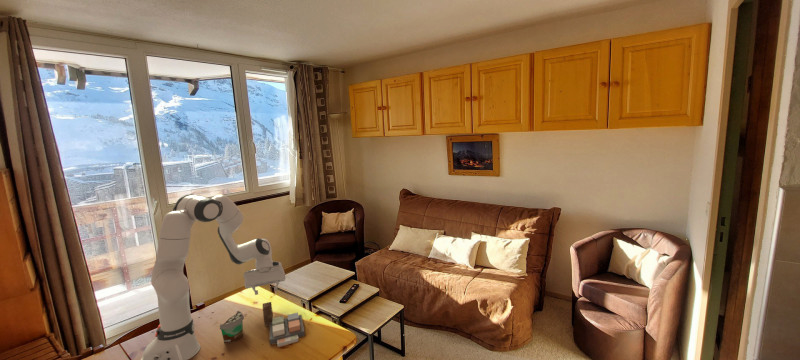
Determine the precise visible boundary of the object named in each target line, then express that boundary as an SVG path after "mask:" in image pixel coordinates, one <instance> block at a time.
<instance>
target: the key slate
mask: <svg viewBox="0 0 800 360" xmlns="http://www.w3.org/2000/svg"><path fill="white" fill-rule="evenodd" d="M299 315H300V314H299V312H294V313H290V314H287V318H288V322H291V321H295V320H299Z"/></svg>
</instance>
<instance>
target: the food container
mask: <svg viewBox="0 0 800 360" xmlns="http://www.w3.org/2000/svg"><path fill="white" fill-rule="evenodd" d="M244 317H245V316H244V314H243V313H242V312H241V311H240V310H237V311H236V313H235V314H234V315H233V316H231V317H229V318H228V319H227V320H226V321H225V322H224V323H223V324H221V323H220V324H219V330H221V331H220V332H221V335H222V339H223V343H224V344H231V343H234V342H236V341H239V340H240V339H241V338H242V337H243V336H244V330H243V329H244V327H243V325H244V324H243V321H244Z"/></svg>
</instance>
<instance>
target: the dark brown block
mask: <svg viewBox="0 0 800 360" xmlns="http://www.w3.org/2000/svg"><path fill="white" fill-rule="evenodd" d="M262 314H263V316H262V317H263V323H264V327H267V326H270V322H272V318H274V315H273V306H272V301H269V302H265V303H262Z"/></svg>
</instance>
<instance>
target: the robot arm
mask: <svg viewBox="0 0 800 360" xmlns="http://www.w3.org/2000/svg"><path fill="white" fill-rule="evenodd" d="M174 205H175V206H174V207H173V208H172V211H169V212H167V213H166V214H165V215H164V216H163V218H162V223H161V226H160V230H159V235H158V243H157V251H156V252H157V253H156V258H155V261H154V265H153V269H152V274H151V277H150V279H151V280H150V283H151V285H152V287H153V289H154V291H155V293H156V296H157V306H158V307H157V309H158V311H157V314H158V319H159V325H158V326H157V327H156V331H155V334H154V335H155V336H154V337H155V338H154V339H152V340H151V341H150V343H148V344H147V346H146V347H145V349H144V350H143V355H142V357H141V358H140V360H190V359H191V358H193V357H194V356H196V354H197V353H198V352H199V351H200V349H201V345H200V343H199V341H198V339H197V337H196V334H195V323H194V319H193V318H192V313H191V307H190V306H191V305H190V284H189V279H188V277H187V276H186V275H185V274H184V267H185V263H186V260H187V259H188V256H189V254H190V253H189V251H190V242H191V235H192V234H191V231H192V227H193V224H194V223H195V222H201V223H210V222H213V221H216V222H217V224H218V226H217V234H218V236H219V238H220V241H221V242H222V244H223V246H224V247H225V249H226V251H227V253H228V255H229V258H230V260H231V262H232V263H234V264H236V265H239V266H241V265H243V264H245V263H247V262H248V261H251V260H254V259H255V262H254V263H255V265H254V266H255V269H251V270H246V271H245V272H243V279H244V282H243V283H244V287H245V289H252V290H253V292H254V295H255V296H256V295H259V291H258V290H256V288H257V287H262V286H266V285H272V284H276V285H275V286H273V288H274V291H275V292H276V291H278V287H279V285H280V282H285V281H286V273H285V270H284V267H283V266H282V265H283V264H282V262H281V261H275V260H273V257H272V255H273V252H272V251H273V250H272V246H271V243H270V240H268V239H266V238H255V239H252V240H249V241H247V242H244V243H241V244H237V243H236V242H235V239H234V237H233V236H232V234H234V233H235V232H236V231H238V229H239V228H240V227H242V224H243V222H244V214H243V213H242V211H241V209H240V208H239V207H238V206H237V204H236V203H235V202H234V201H232V199H231V198H229V197H228V196H227V195H225V194H217V195H214V196H213V197H207V196H204V195H200V194H194V193H193V194H191V193H190V194H185V195H183V196H180V197H179V199H177V201H176V203H175V204H174Z"/></svg>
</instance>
